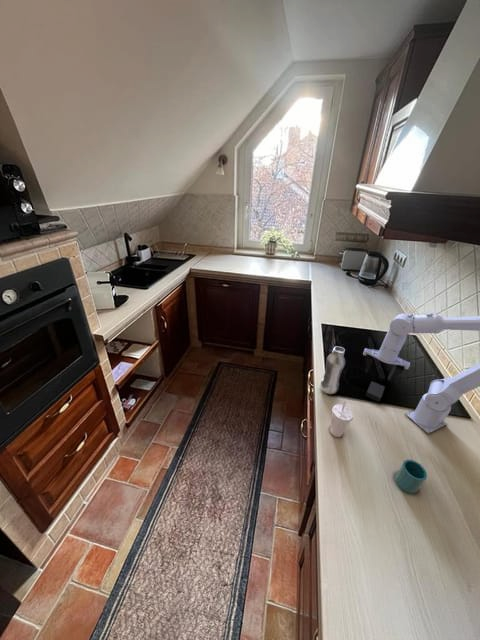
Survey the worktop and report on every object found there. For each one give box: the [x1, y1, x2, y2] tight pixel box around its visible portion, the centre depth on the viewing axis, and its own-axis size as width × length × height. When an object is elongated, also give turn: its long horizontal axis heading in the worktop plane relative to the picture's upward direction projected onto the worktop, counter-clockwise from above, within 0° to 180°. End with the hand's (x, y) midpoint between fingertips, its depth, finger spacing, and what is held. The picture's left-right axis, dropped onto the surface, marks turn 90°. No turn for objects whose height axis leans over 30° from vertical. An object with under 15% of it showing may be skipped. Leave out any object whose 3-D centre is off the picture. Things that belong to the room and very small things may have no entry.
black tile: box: [365, 380, 386, 403], centre depth 98 cm, size 8×5×2 cm, turn 143°
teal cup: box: [394, 459, 428, 495], centre depth 68 cm, size 5×5×6 cm
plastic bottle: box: [320, 345, 346, 395], centre depth 95 cm, size 6×7×20 cm
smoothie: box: [329, 399, 355, 438], centre depth 80 cm, size 6×6×14 cm
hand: (377, 375), depth 94 cm, fingers open, 7 cm apart
